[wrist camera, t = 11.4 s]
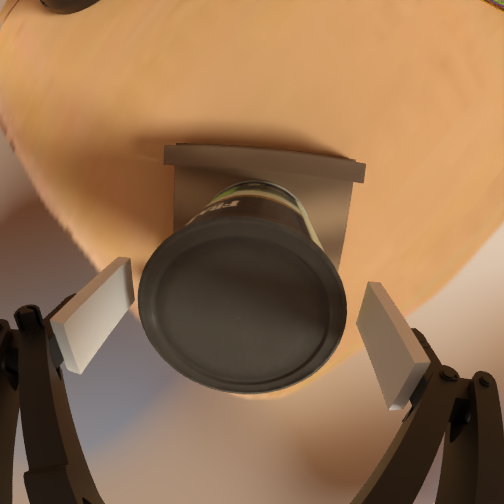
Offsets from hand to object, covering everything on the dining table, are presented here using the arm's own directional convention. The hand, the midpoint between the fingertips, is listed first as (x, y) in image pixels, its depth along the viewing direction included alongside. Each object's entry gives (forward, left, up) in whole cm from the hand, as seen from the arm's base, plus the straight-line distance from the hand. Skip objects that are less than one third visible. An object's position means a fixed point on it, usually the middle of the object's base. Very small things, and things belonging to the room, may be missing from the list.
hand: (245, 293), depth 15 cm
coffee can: (0, 0, -12) cm, 12 cm away
